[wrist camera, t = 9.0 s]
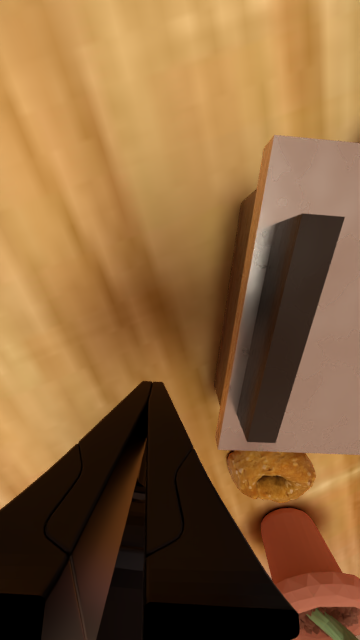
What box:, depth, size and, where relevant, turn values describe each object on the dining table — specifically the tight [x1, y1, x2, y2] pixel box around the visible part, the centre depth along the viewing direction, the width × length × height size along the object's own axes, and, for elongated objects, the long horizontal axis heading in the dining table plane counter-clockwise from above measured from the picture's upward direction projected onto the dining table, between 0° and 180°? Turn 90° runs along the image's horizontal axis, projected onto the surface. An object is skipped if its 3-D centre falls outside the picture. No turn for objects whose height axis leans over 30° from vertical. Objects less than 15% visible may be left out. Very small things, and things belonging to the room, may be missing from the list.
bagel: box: [227, 450, 316, 503], centre depth 25 cm, size 10×11×5 cm
